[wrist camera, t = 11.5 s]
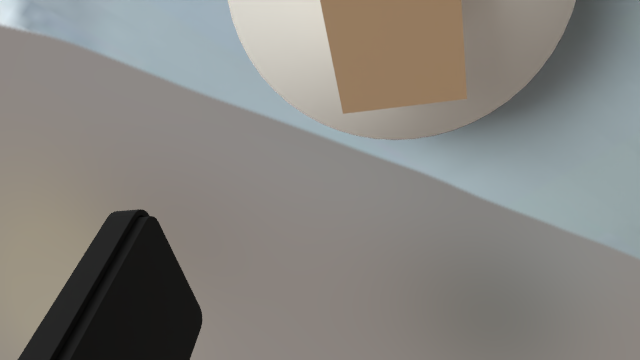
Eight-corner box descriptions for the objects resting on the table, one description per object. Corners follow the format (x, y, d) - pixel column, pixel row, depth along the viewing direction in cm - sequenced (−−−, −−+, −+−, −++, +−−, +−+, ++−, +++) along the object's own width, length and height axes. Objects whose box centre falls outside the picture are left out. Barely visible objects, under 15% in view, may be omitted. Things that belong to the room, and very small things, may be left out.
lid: (588, -268, 17) (661, -273, 12) (566, 109, 25) (607, 196, 20) (185, -172, 20) (117, -146, 15) (276, 142, 27) (250, 226, 22)
